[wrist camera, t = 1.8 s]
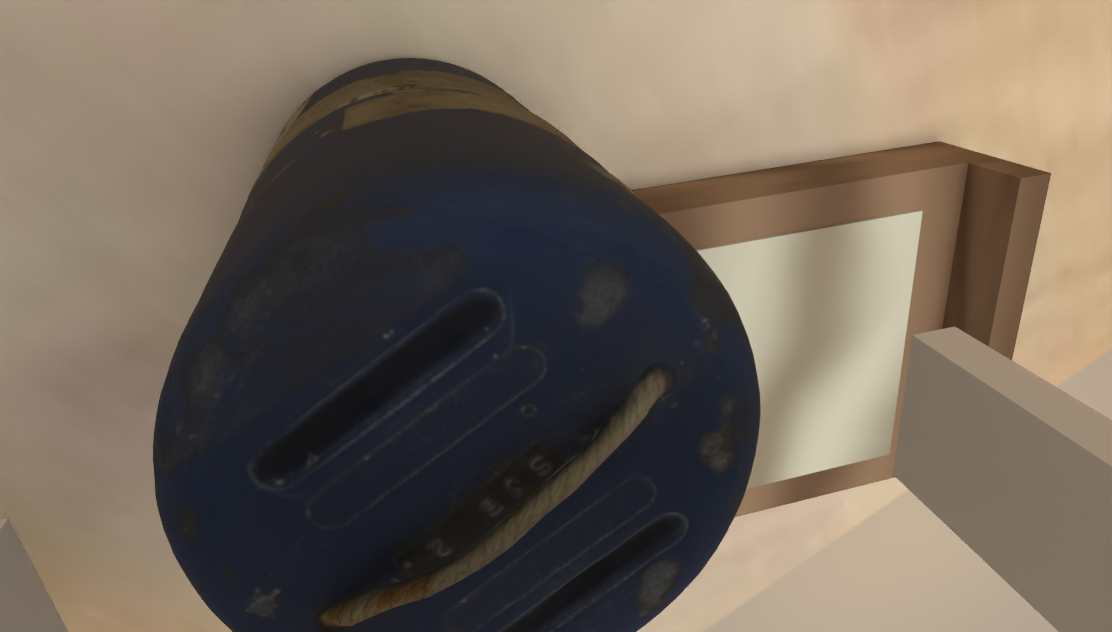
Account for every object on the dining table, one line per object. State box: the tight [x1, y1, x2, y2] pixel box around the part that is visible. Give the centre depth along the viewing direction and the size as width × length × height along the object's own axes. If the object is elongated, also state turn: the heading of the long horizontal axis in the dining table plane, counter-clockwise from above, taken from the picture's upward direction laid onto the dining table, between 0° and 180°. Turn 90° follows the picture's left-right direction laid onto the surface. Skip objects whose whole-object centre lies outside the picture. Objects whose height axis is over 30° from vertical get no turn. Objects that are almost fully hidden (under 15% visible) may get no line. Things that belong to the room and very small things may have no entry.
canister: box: [153, 58, 761, 632], centre depth 18 cm, size 10×10×18 cm
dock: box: [633, 142, 1051, 517], centre depth 29 cm, size 14×14×5 cm
